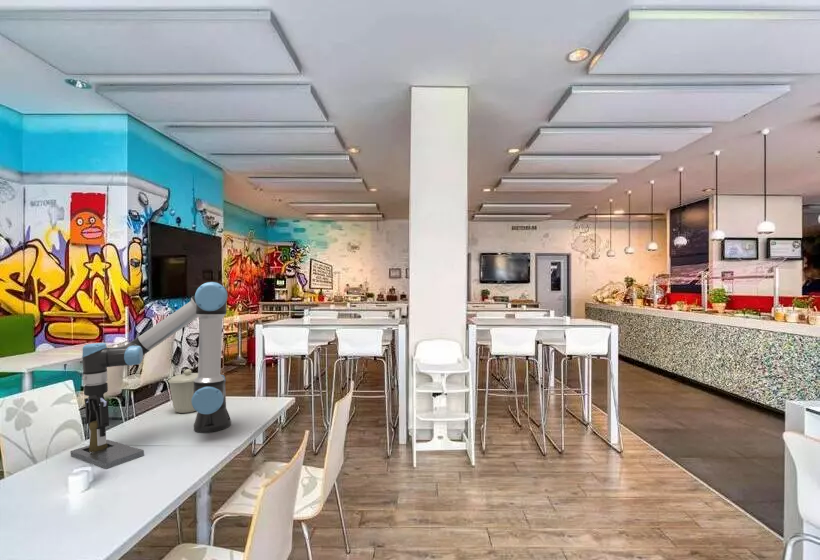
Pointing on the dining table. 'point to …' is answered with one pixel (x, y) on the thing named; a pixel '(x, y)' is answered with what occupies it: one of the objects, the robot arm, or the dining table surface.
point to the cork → (95, 438)
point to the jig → (108, 454)
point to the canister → (183, 391)
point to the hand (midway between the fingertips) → (98, 443)
